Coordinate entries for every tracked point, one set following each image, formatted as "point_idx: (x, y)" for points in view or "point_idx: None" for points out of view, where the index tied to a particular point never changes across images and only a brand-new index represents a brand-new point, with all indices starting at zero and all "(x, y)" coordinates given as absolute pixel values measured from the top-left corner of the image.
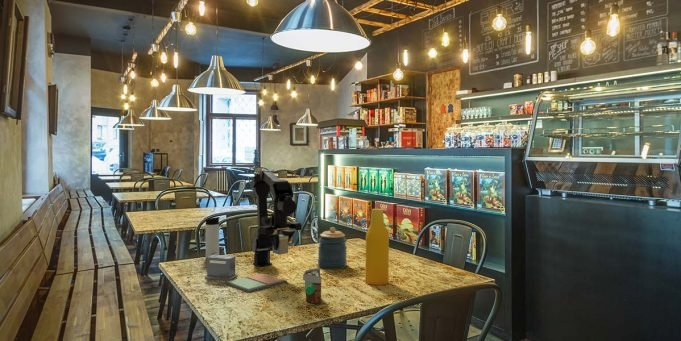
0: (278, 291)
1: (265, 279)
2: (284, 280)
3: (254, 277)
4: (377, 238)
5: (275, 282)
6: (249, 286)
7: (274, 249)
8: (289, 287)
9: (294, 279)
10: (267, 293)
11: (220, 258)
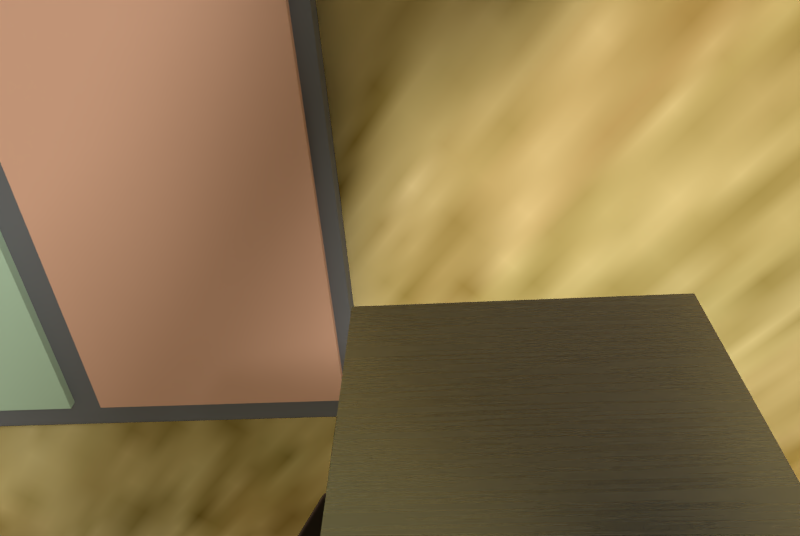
0: (147, 521)
1: (146, 255)
2: None
3: (31, 65)
4: None
5: (209, 400)
6: None
7: (325, 493)
8: (296, 500)
9: None
10: (34, 508)
11: None
